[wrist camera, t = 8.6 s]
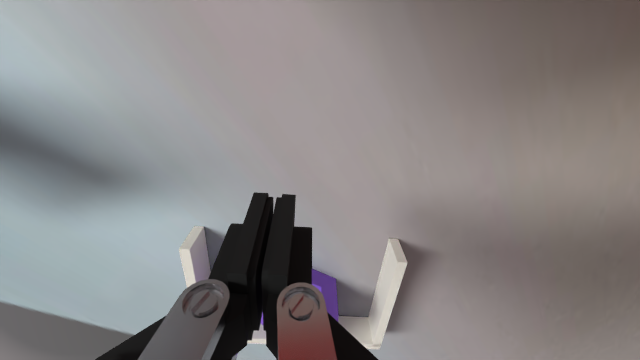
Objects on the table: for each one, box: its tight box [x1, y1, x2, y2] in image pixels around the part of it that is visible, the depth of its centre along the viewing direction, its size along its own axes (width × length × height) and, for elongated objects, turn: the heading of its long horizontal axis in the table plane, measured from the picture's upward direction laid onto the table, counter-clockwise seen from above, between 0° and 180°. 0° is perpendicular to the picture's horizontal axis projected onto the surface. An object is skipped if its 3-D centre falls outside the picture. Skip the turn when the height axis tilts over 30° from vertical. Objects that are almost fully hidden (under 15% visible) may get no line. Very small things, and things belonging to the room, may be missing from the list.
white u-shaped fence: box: [179, 226, 407, 349], centre depth 30 cm, size 14×22×4 cm, turn 85°
